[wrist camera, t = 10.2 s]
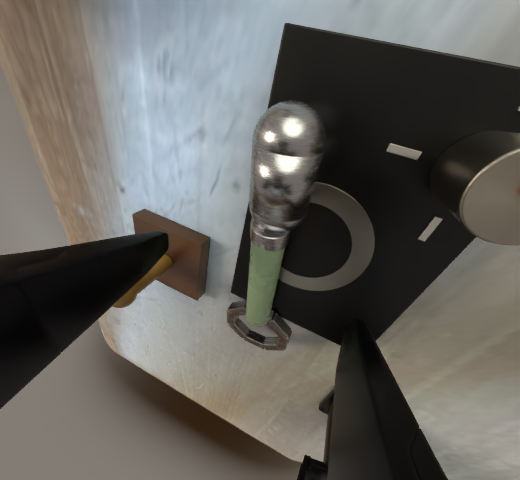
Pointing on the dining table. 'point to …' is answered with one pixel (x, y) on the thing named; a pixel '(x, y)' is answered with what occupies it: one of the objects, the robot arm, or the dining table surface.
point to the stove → (384, 161)
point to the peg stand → (173, 258)
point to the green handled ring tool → (277, 209)
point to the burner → (328, 242)
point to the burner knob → (482, 184)
